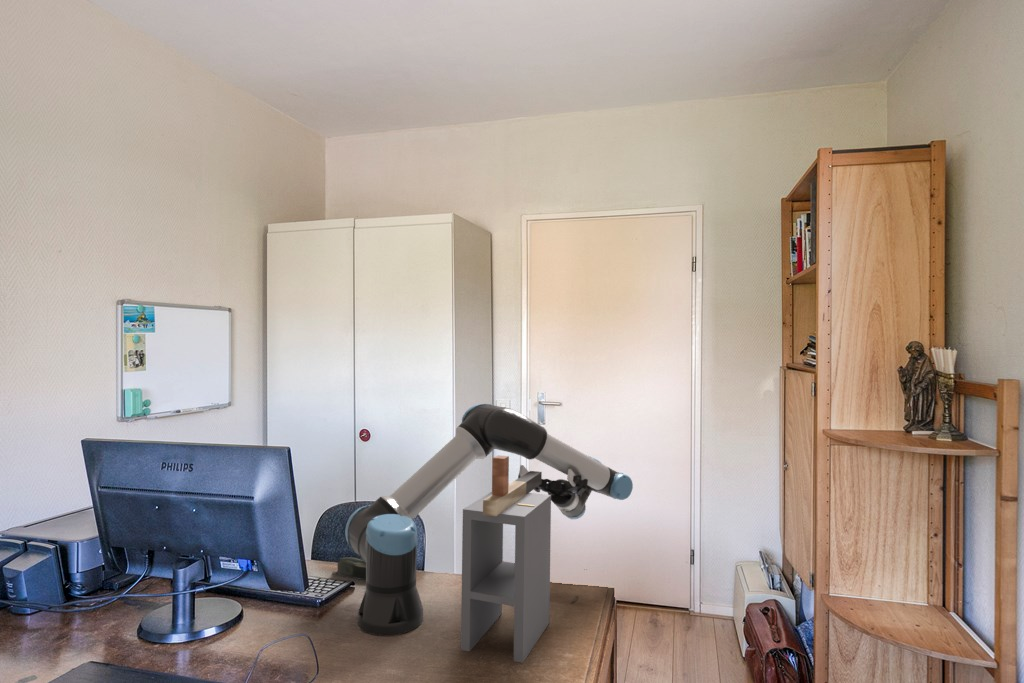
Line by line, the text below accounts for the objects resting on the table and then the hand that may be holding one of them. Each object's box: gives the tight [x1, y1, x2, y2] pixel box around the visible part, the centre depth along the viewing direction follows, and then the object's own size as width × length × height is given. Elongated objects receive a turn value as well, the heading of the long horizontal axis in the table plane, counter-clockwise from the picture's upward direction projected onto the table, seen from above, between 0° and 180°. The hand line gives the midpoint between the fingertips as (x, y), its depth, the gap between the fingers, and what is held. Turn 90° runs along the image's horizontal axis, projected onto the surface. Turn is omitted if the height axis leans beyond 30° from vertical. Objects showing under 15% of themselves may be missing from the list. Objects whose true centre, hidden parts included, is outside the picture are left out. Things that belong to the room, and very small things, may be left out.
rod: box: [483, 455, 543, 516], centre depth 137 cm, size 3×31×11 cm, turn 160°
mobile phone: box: [331, 557, 366, 581], centre depth 165 cm, size 5×3×15 cm
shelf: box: [460, 491, 552, 664], centre depth 133 cm, size 14×19×30 cm
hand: (544, 471), depth 159 cm, fingers open, 13 cm apart
